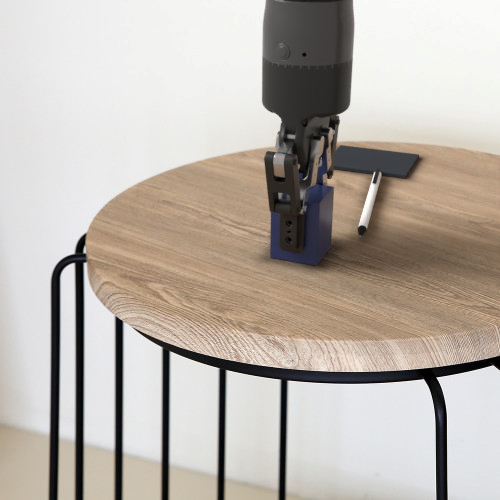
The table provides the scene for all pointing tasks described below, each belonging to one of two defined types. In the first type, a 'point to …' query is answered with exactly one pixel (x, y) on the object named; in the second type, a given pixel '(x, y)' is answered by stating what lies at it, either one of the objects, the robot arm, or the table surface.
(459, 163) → the table surface
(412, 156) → the mat
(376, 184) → the pen
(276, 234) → the block
